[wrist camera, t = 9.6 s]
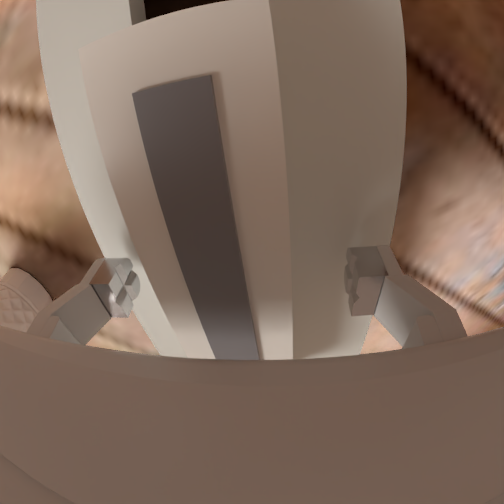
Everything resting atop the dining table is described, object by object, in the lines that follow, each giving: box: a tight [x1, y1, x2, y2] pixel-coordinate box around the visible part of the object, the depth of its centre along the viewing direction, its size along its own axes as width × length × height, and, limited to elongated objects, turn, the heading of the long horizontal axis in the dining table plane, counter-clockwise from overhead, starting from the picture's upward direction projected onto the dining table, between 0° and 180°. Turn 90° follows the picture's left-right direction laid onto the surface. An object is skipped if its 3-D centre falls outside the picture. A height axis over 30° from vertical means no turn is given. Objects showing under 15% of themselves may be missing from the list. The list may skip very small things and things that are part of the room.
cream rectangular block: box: [78, 0, 293, 360], centre depth 11 cm, size 16×4×6 cm, turn 7°
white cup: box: [0, 268, 53, 332], centre depth 17 cm, size 8×8×10 cm
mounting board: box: [36, 0, 407, 359], centre depth 11 cm, size 22×12×4 cm, turn 7°
